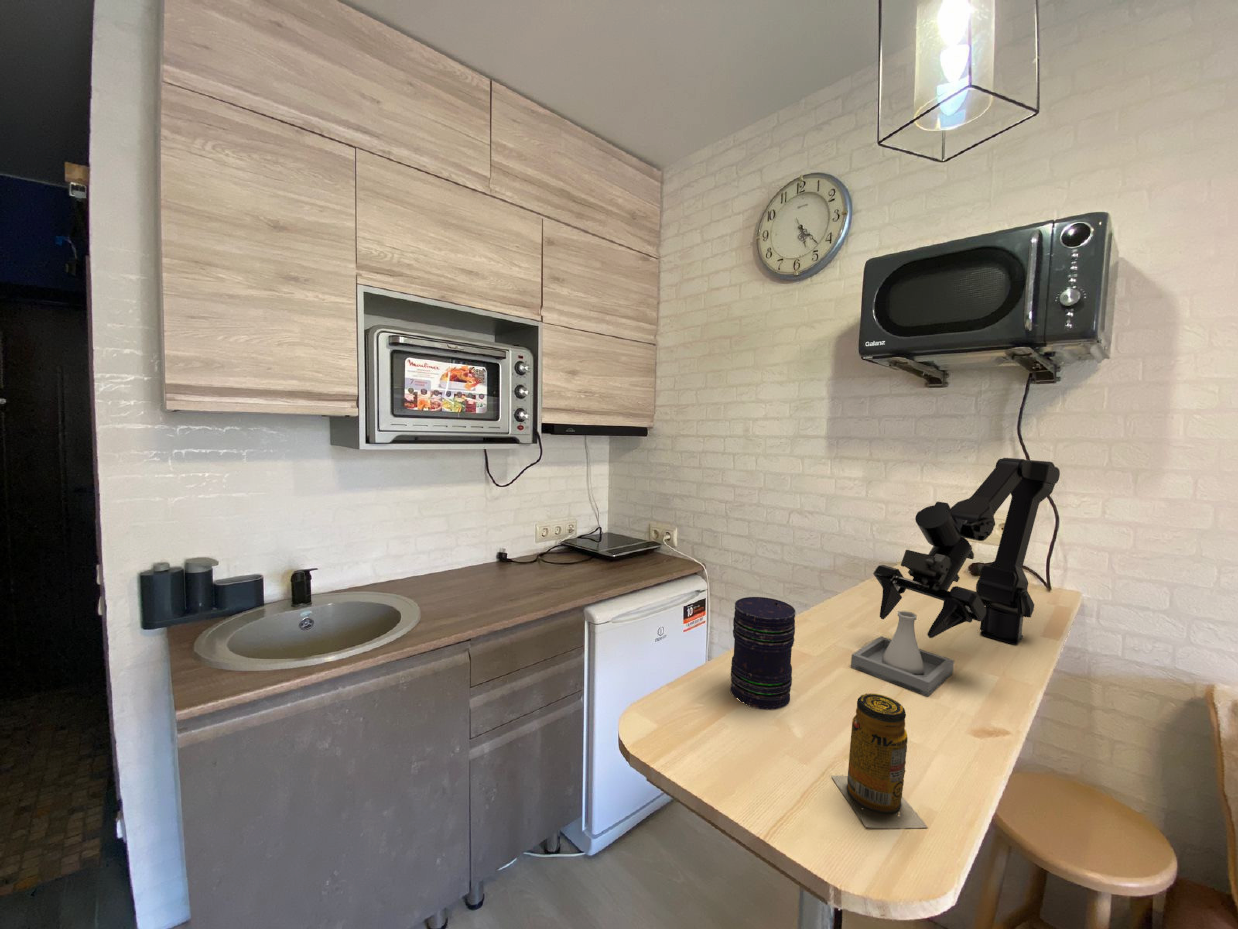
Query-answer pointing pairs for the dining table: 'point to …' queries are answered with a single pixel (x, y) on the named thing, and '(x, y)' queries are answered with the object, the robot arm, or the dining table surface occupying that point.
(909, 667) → the flask
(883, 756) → the condiment
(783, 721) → the dining table surface
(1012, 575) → the robot arm
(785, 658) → the storage jar
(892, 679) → the tray
